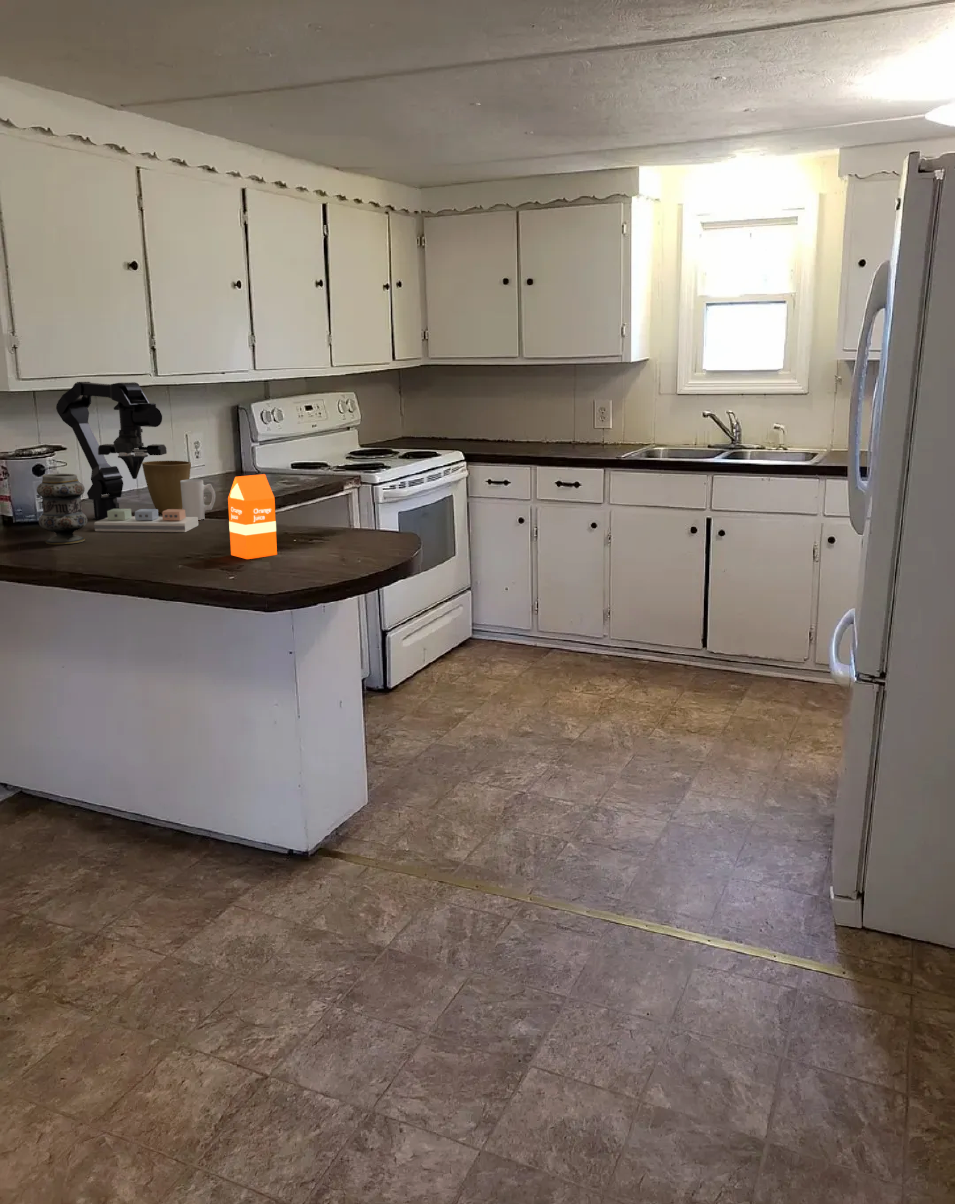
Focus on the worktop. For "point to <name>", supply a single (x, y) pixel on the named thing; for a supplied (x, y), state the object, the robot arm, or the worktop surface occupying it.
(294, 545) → the worktop surface
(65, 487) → the apothecary jar
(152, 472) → the plant pot
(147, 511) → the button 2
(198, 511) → the mug
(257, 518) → the orange juice
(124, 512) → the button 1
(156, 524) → the console
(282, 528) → the worktop surface
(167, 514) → the orange block with buttons
